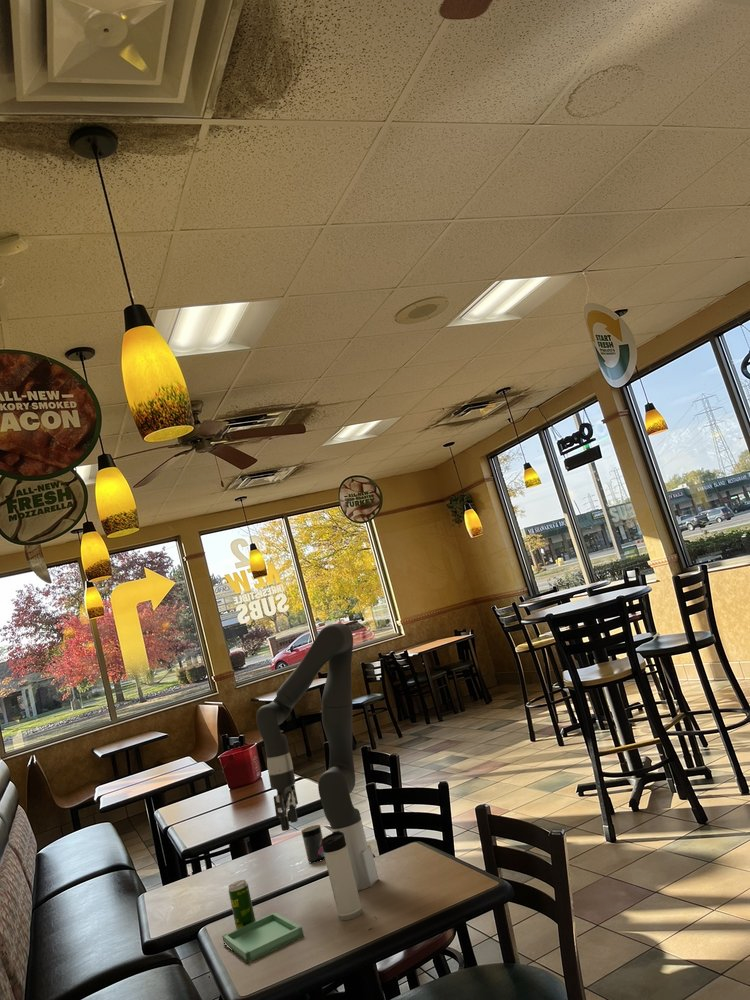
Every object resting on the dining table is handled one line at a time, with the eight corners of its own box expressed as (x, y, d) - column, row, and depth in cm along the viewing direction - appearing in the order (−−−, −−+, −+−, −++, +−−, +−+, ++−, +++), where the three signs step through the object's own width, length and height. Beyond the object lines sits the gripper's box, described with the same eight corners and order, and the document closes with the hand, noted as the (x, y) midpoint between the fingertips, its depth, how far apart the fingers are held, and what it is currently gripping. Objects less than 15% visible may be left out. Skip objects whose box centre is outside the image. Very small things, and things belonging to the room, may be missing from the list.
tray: (224, 944, 191) (222, 935, 192) (276, 920, 199) (274, 912, 199) (247, 963, 174) (245, 953, 175) (303, 936, 182) (301, 926, 182)
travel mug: (366, 907, 190) (347, 828, 194) (357, 919, 184) (338, 837, 188) (345, 911, 192) (326, 832, 196) (335, 922, 186) (316, 841, 189)
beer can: (248, 924, 202) (238, 879, 204) (260, 925, 198) (250, 879, 201) (233, 934, 197) (223, 887, 200) (245, 934, 194) (235, 887, 196)
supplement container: (318, 863, 244) (310, 831, 246) (304, 864, 248) (297, 832, 250) (331, 855, 249) (324, 824, 251) (317, 856, 253) (310, 825, 255)
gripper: (285, 773, 213) (295, 831, 210) (299, 763, 227) (308, 817, 224) (261, 777, 214) (270, 835, 211) (276, 767, 228) (285, 821, 225)
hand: (290, 826), depth 217 cm, fingers open, 8 cm apart
